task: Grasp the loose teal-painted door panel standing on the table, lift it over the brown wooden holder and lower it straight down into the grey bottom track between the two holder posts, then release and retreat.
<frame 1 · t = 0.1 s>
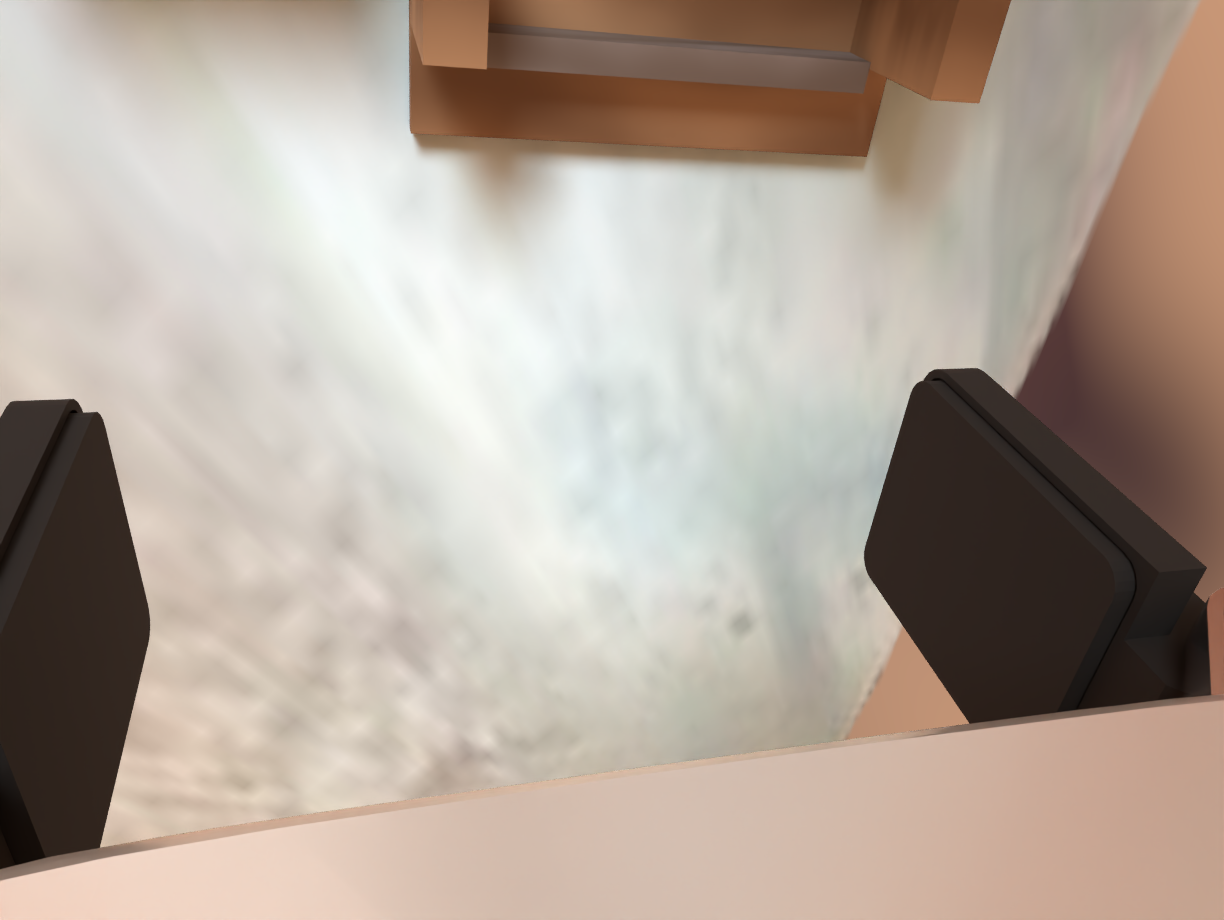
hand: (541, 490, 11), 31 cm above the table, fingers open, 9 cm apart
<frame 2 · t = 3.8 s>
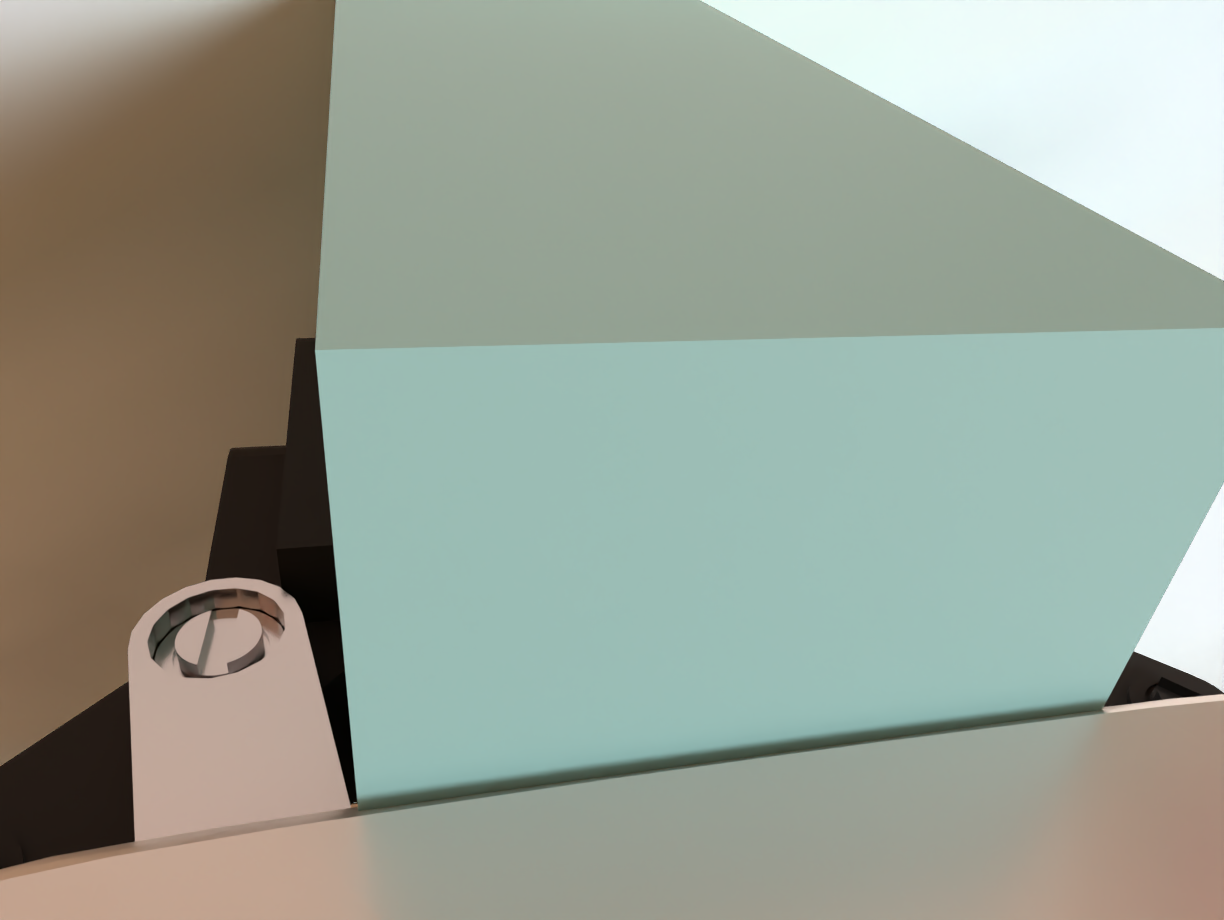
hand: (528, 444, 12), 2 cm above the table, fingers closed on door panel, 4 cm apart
door panel: (508, 372, 13), on the table, touching gripper
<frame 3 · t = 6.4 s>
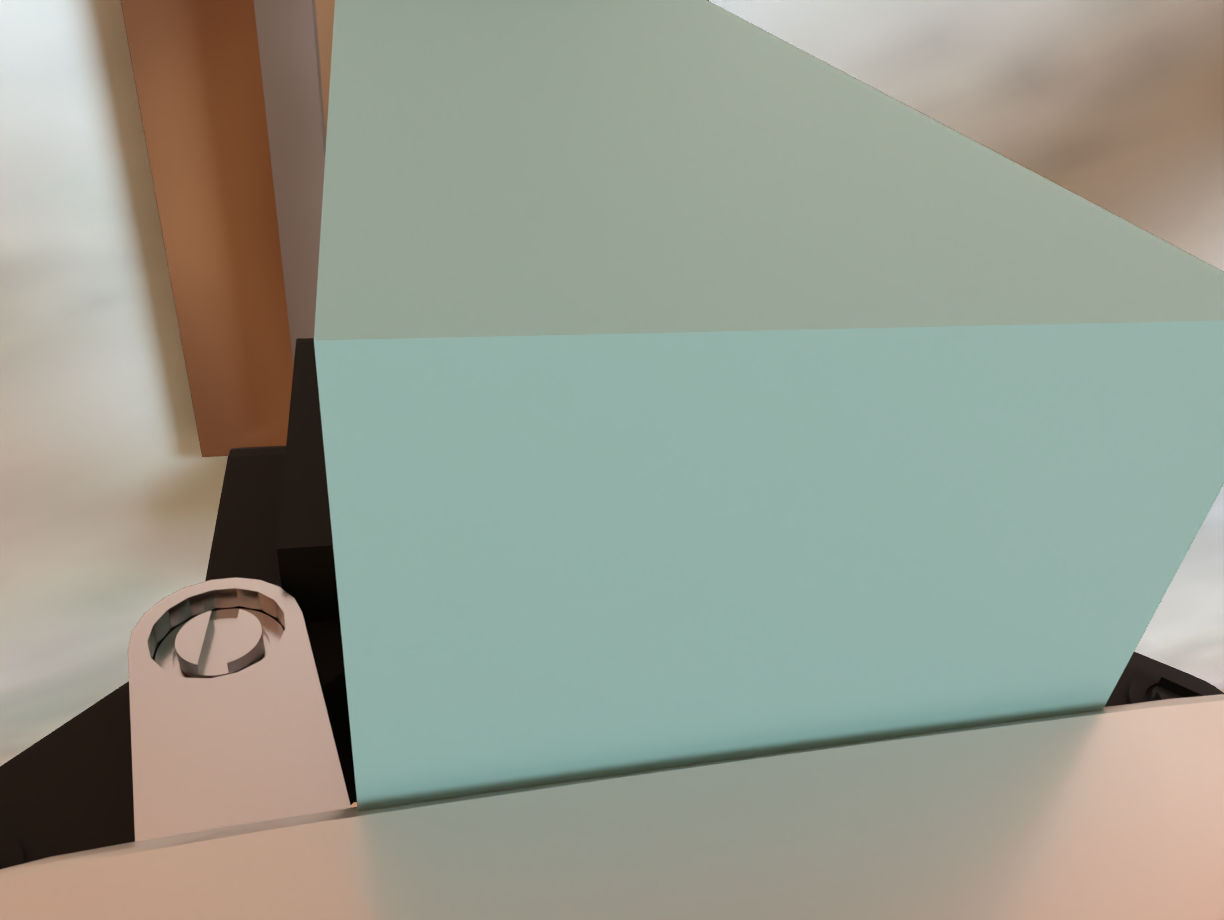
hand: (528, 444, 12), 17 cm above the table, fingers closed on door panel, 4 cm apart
brown wooden holder: (431, 110, 25), on the table
door panel: (508, 370, 13), point 15 cm above the table, touching gripper
when the fingers open (4 cm above the table, at t = 9.3 s): door panel drops 1 cm, resting on brown wooden holder.
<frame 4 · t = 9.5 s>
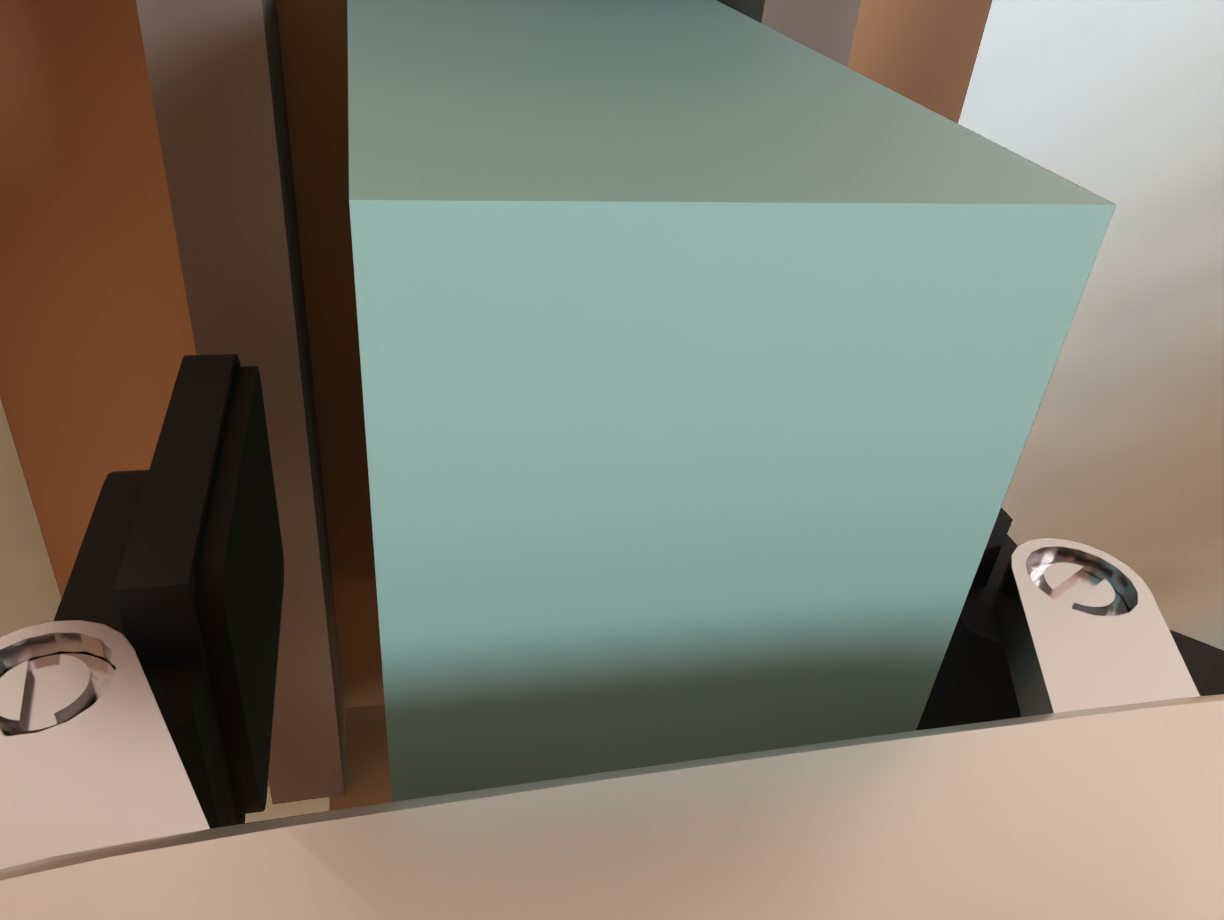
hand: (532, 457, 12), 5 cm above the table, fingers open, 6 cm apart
brown wooden holder: (487, 302, 15), on the table
door panel: (504, 326, 15), point 1 cm above the table, touching brown wooden holder
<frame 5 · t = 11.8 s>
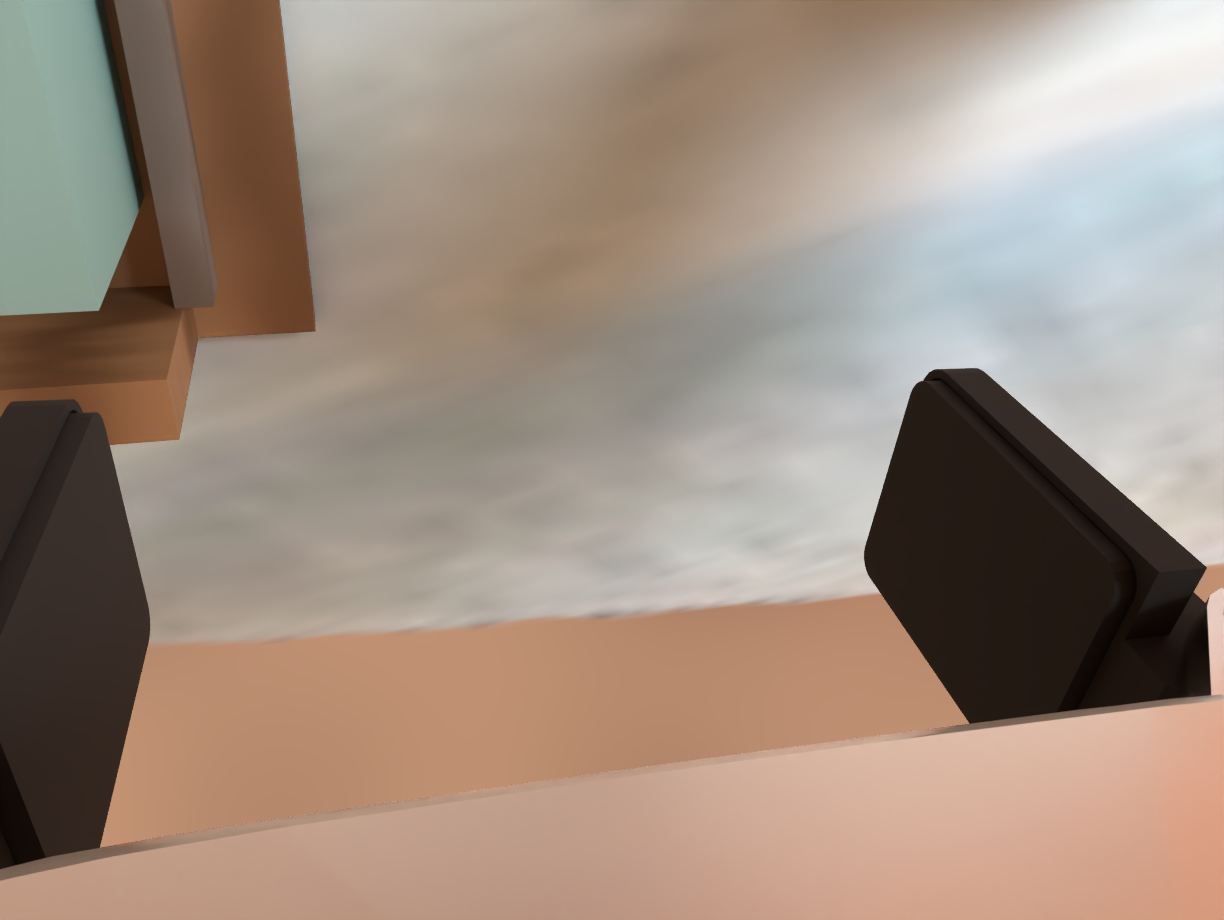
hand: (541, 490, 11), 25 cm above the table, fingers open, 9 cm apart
brown wooden holder: (36, 24, 28), on the table
door panel: (34, 29, 28), point 1 cm above the table, touching brown wooden holder
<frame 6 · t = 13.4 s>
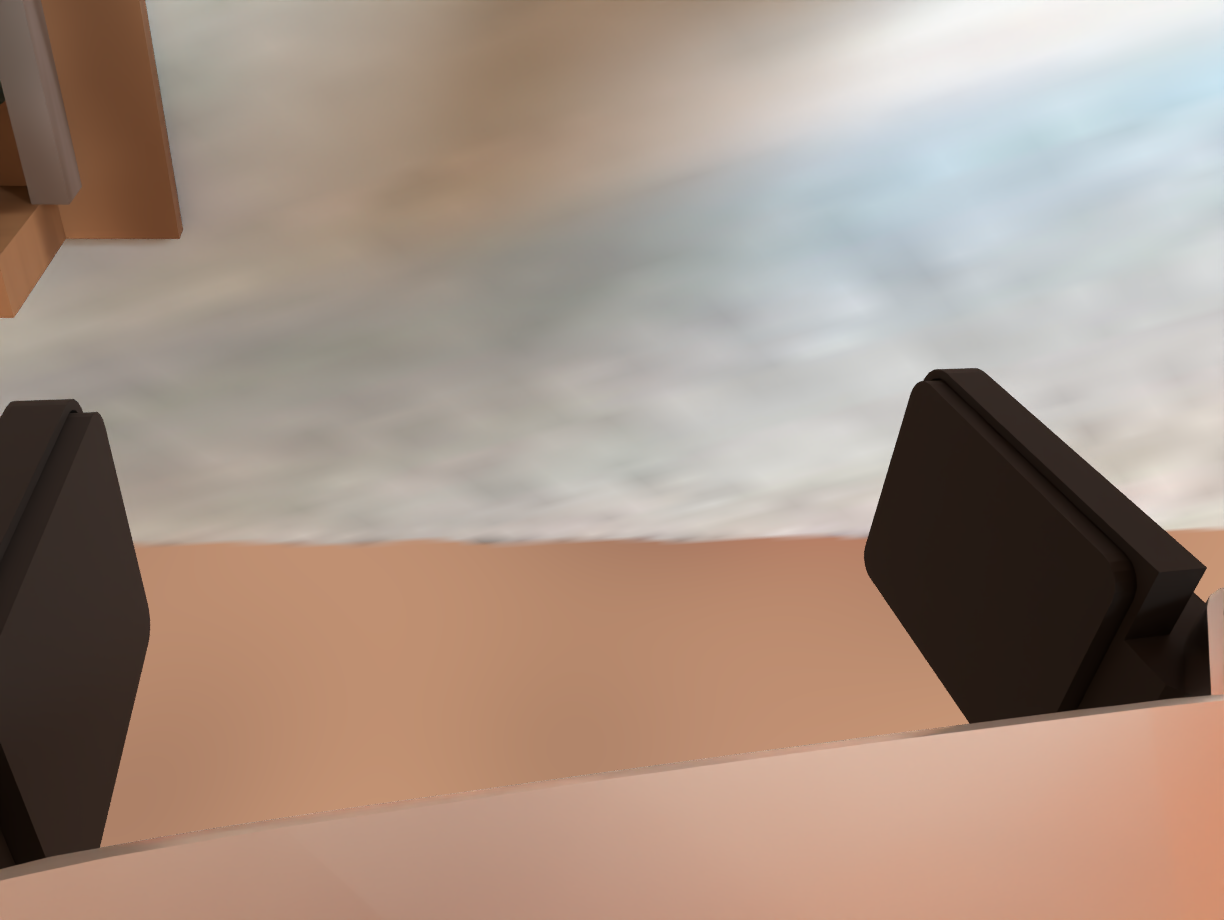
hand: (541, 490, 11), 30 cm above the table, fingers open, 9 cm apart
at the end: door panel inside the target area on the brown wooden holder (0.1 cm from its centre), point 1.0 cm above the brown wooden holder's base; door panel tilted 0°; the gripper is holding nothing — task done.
